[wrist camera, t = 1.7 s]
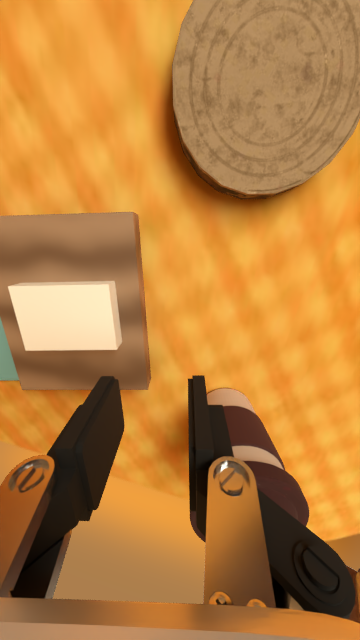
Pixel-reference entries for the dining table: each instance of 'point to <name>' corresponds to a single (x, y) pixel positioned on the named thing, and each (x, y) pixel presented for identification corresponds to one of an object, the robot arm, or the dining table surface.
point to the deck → (77, 266)
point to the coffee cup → (257, 455)
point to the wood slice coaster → (266, 90)
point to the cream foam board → (67, 315)
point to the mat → (6, 358)
